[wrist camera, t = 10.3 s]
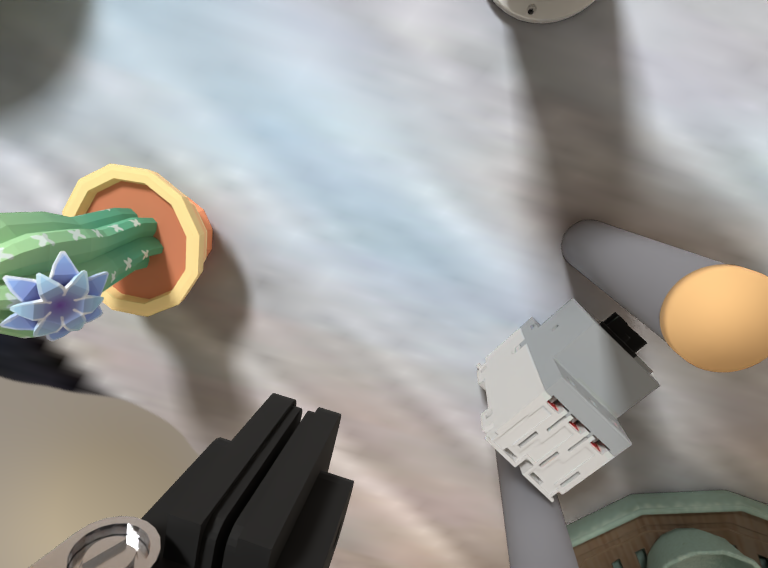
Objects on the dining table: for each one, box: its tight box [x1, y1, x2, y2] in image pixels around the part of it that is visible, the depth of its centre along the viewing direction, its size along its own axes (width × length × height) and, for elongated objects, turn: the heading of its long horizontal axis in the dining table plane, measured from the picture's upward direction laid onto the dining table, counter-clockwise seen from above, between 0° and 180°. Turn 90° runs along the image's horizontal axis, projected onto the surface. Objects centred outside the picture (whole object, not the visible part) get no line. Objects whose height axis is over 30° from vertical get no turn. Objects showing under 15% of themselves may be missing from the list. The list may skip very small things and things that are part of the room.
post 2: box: [561, 220, 768, 372], centre depth 34 cm, size 5×5×25 cm
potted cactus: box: [0, 164, 213, 341], centre depth 41 cm, size 15×15×25 cm
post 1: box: [495, 449, 579, 568], centre depth 40 cm, size 5×5×25 cm
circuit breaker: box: [477, 298, 660, 502], centre depth 41 cm, size 8×14×15 cm, turn 137°
